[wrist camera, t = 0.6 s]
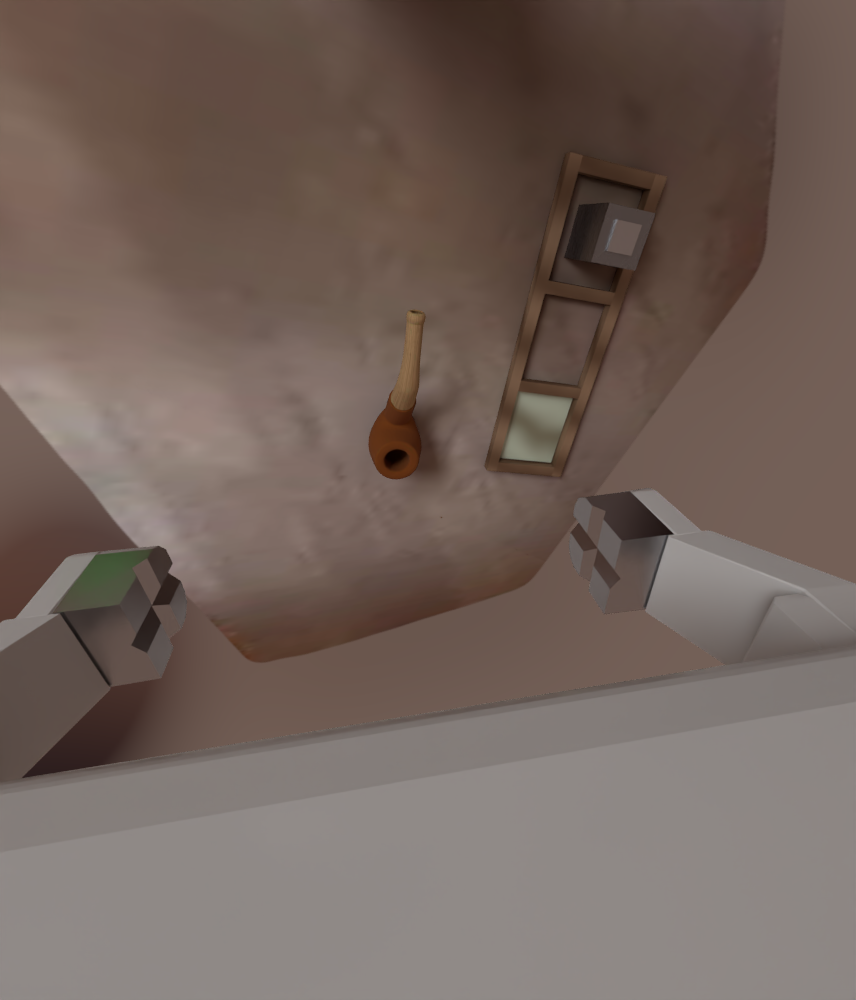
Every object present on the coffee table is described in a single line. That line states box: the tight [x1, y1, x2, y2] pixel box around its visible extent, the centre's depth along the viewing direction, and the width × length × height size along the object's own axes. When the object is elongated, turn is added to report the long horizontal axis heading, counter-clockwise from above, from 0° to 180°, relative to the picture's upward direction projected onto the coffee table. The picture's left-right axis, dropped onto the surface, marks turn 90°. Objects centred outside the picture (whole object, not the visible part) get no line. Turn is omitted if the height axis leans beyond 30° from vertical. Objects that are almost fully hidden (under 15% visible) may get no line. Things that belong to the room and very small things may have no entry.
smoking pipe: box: [368, 310, 425, 479], centre depth 45 cm, size 7×18×6 cm
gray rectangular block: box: [565, 203, 656, 271], centre depth 42 cm, size 4×4×6 cm
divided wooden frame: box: [485, 152, 667, 477], centre depth 49 cm, size 32×10×1 cm, turn 170°
